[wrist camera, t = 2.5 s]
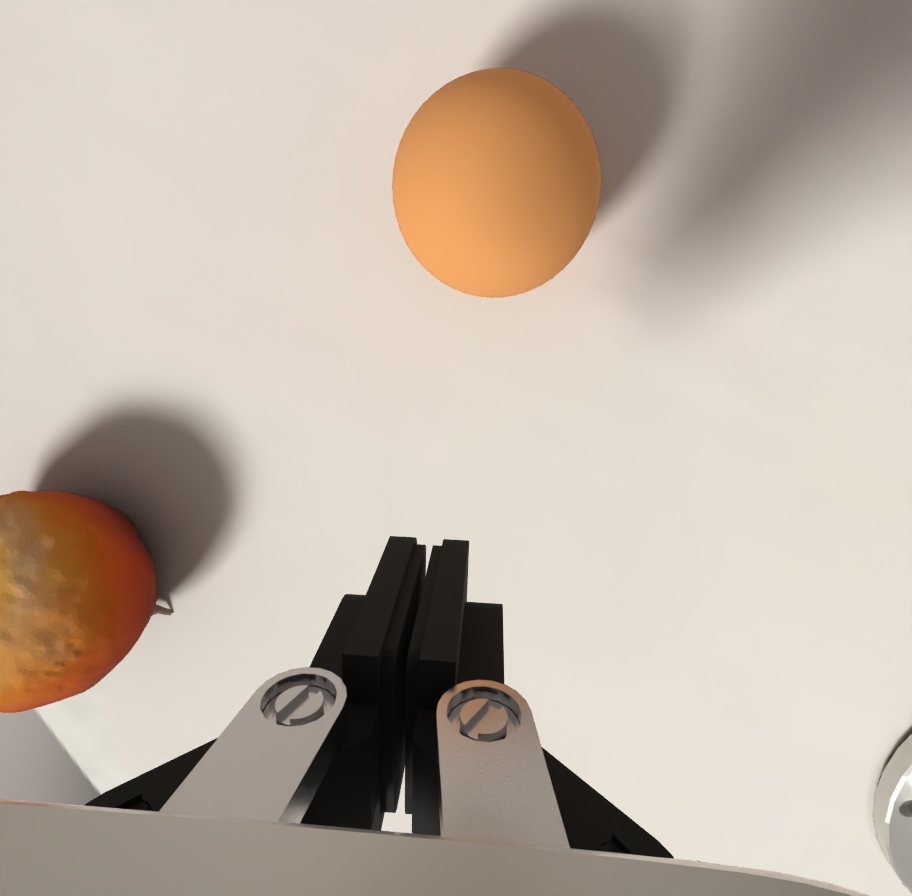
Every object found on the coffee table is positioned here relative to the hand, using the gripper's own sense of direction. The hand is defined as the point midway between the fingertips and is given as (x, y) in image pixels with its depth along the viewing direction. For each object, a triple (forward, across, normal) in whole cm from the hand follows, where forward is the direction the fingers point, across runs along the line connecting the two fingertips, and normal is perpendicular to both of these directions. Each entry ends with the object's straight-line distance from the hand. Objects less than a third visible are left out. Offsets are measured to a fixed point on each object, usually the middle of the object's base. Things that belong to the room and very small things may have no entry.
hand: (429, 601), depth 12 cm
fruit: (+11, +16, +6) cm, 20 cm away
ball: (+8, -1, -9) cm, 12 cm away
